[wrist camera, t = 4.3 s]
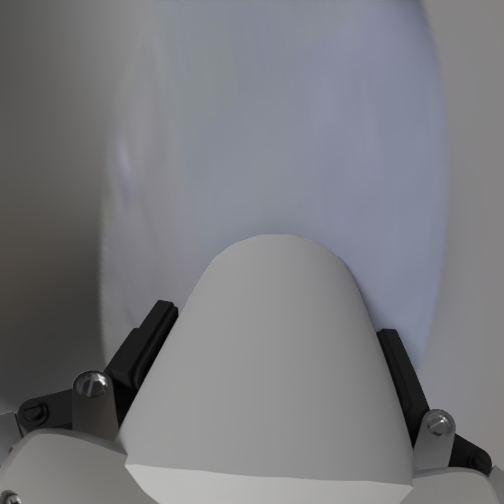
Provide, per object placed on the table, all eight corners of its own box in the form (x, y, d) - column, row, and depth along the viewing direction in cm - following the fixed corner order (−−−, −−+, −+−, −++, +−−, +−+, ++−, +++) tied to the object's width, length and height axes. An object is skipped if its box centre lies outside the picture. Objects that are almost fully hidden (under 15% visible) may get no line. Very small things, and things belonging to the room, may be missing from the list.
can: (374, 326, 14) (433, 557, 3) (249, 374, 16) (211, 576, 5) (314, 196, 12) (427, 569, 1) (171, 270, 14) (20, 498, 3)
